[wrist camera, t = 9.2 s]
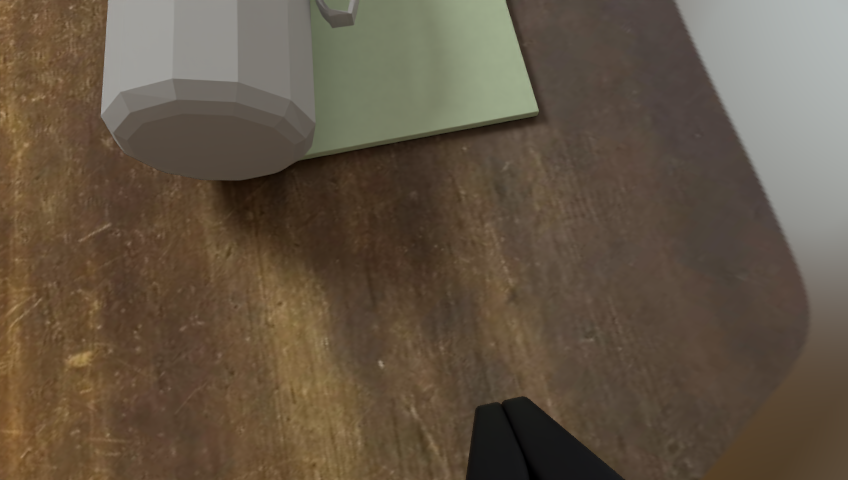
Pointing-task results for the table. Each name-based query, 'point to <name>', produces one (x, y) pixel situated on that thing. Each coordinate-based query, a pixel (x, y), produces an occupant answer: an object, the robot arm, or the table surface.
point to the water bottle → (213, 83)
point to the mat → (414, 72)
